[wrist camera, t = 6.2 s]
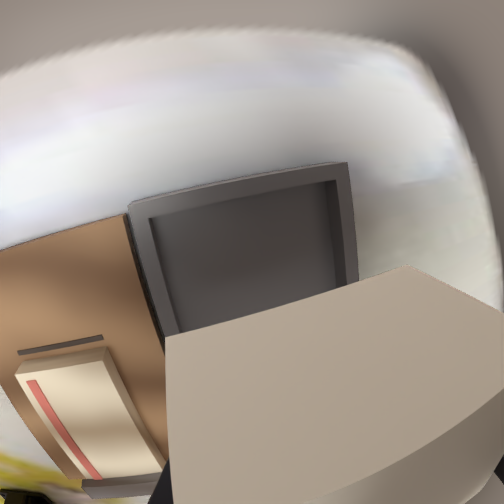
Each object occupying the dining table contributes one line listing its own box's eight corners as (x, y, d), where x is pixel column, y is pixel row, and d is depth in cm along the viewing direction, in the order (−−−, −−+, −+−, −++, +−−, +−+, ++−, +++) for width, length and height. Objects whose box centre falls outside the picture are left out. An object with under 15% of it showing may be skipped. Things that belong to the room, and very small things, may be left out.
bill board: (207, 451, 21) (214, 485, 18) (70, 468, 19) (65, 500, 16) (125, 213, 16) (114, 224, 13) (-41, 264, 14) (-71, 283, 10)
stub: (399, 403, 9) (482, 492, 5) (222, 469, 8) (260, 599, 4) (406, 264, 8) (557, 342, 3) (165, 337, 7) (178, 539, 2)
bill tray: (346, 330, 21) (360, 343, 19) (184, 377, 19) (187, 397, 17) (329, 162, 18) (347, 162, 16) (132, 201, 16) (127, 205, 14)
